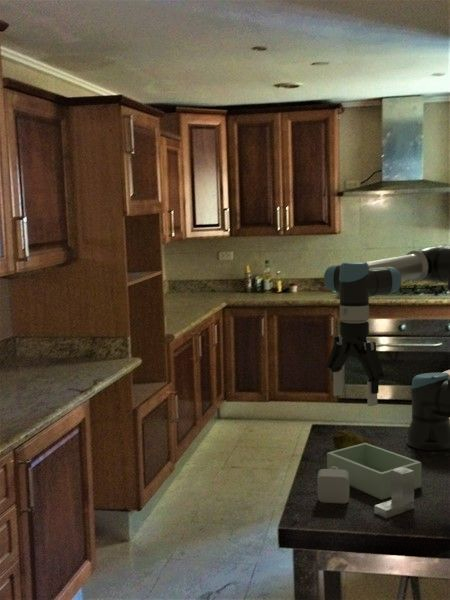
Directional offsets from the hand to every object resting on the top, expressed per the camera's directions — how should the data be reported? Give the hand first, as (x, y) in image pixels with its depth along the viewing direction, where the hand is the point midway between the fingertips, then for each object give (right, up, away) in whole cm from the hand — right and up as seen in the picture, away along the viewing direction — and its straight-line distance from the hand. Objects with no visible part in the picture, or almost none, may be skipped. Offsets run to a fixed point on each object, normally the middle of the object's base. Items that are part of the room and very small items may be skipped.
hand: (354, 400), depth 194 cm
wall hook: (-5, -27, +2) cm, 27 cm away
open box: (+7, -25, +12) cm, 29 cm away
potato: (+6, -22, +35) cm, 42 cm away
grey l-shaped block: (+9, -27, -8) cm, 29 cm away
